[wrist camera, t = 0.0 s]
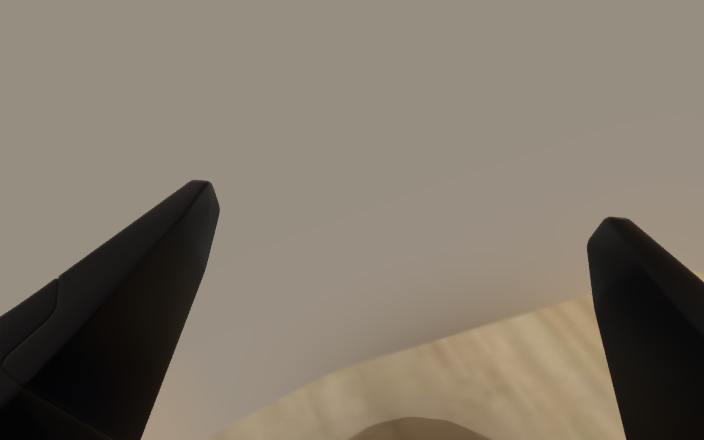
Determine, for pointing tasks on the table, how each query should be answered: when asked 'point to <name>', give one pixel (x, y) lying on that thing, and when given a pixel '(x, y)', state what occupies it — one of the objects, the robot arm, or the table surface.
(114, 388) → the robot arm
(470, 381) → the table surface
